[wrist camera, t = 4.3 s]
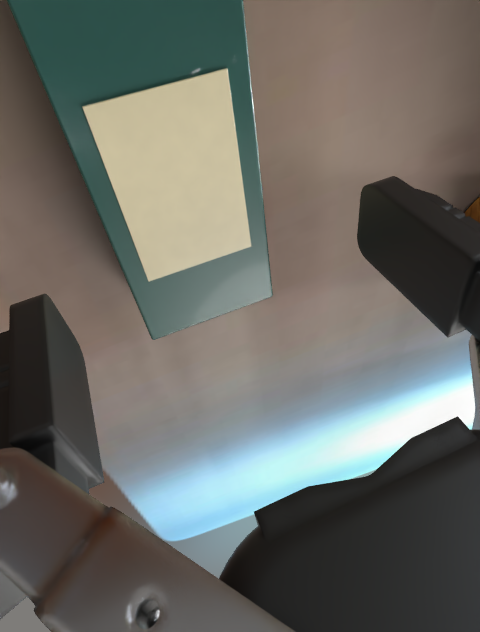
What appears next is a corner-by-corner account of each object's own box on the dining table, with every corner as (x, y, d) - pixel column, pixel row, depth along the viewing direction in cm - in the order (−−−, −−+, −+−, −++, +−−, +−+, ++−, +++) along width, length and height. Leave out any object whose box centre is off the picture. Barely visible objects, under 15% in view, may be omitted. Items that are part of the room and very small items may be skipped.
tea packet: (-5, -47, 11) (-11, -39, 9) (194, -87, 12) (236, -88, 9) (137, 293, 19) (153, 342, 17) (246, 256, 20) (274, 297, 18)
